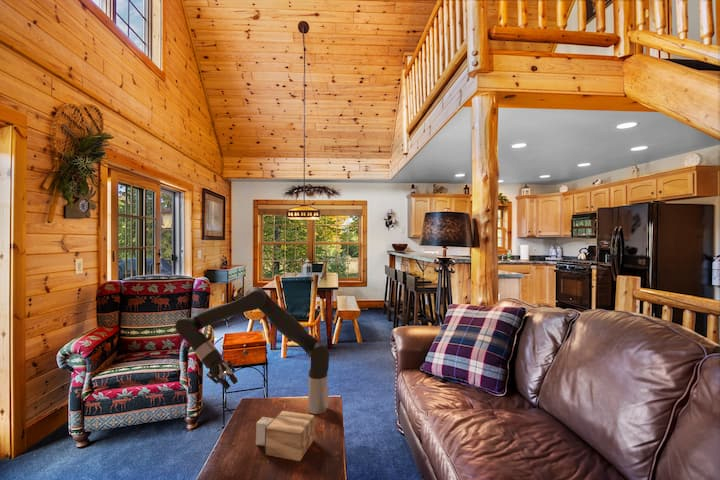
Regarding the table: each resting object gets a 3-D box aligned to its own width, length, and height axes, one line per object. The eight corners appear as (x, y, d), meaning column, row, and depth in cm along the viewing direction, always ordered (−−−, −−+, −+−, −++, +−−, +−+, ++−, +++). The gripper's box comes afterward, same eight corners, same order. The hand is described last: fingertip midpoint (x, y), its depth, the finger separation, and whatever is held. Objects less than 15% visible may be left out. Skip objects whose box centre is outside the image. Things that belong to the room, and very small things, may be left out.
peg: (262, 437, 143) (262, 416, 143) (288, 442, 140) (288, 420, 140) (255, 444, 138) (256, 422, 138) (282, 449, 135) (283, 427, 135)
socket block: (281, 434, 146) (281, 410, 146) (313, 440, 142) (313, 415, 142) (264, 454, 132) (265, 428, 132) (299, 461, 128) (300, 433, 128)
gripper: (202, 354, 139) (227, 387, 136) (224, 344, 153) (247, 373, 150) (191, 365, 140) (216, 398, 137) (214, 354, 154) (236, 384, 151)
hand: (232, 385), depth 143 cm, fingers open, 4 cm apart
